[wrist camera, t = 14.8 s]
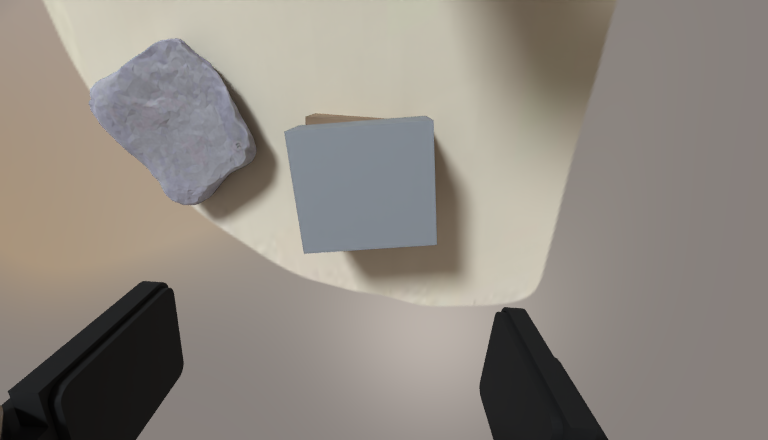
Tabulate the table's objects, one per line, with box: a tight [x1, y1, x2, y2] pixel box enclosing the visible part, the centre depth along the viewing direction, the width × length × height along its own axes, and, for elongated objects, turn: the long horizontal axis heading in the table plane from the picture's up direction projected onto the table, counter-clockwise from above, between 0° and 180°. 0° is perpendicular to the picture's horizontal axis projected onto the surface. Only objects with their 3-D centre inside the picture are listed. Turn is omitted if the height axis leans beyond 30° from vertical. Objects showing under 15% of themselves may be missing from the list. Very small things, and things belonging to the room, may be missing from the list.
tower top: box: [284, 116, 437, 254], centre depth 28 cm, size 9×10×4 cm
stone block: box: [89, 38, 257, 205], centre depth 31 cm, size 12×5×10 cm
